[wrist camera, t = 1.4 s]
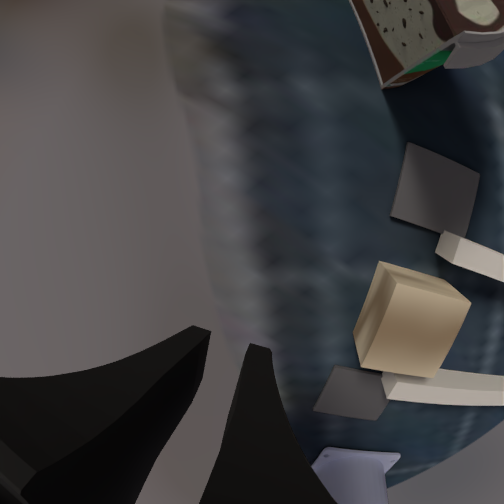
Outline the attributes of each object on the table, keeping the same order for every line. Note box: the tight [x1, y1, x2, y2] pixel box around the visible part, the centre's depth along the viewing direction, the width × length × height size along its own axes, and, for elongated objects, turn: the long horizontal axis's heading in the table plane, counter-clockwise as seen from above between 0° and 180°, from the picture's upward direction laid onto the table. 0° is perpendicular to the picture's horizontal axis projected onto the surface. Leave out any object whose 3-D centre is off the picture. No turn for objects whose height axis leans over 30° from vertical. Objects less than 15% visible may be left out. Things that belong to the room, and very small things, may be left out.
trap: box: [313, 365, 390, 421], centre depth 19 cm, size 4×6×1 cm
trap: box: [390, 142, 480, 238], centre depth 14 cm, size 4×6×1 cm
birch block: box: [353, 261, 471, 378], centre depth 15 cm, size 5×5×4 cm
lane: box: [381, 230, 504, 406], centre depth 14 cm, size 11×16×2 cm, turn 77°
